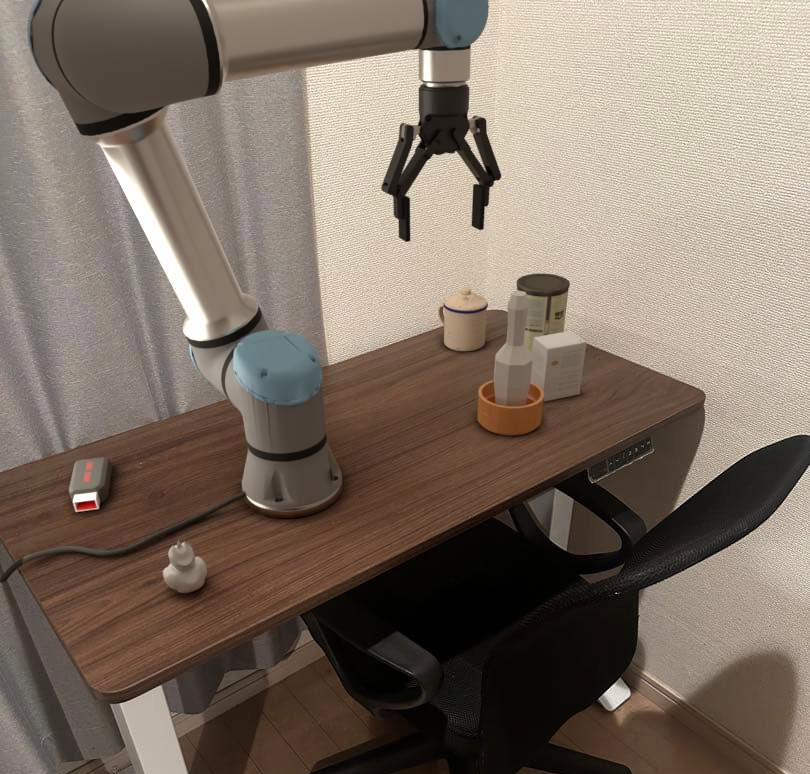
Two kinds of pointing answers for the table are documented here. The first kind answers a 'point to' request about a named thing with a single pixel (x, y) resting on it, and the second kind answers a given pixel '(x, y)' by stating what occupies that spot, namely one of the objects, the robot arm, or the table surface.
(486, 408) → the bowl
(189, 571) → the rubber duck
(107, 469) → the usb drive
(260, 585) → the table surface
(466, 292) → the teacup with lid
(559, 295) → the coffee can
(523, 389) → the low poly bottle
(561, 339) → the small box
